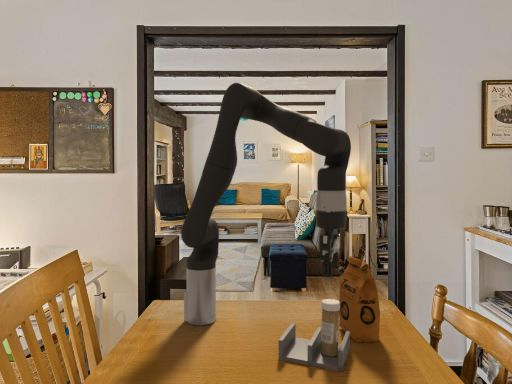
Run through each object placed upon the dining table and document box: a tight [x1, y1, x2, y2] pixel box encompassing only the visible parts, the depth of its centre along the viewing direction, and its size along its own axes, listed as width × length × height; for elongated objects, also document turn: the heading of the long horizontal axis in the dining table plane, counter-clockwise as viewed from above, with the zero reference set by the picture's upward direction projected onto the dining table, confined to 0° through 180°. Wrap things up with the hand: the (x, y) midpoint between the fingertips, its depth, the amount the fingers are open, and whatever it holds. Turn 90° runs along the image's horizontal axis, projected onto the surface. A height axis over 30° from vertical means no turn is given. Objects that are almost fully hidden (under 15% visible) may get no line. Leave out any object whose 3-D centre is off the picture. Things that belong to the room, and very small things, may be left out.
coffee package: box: [338, 256, 381, 343], centre depth 111 cm, size 10×12×22 cm
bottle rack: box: [277, 322, 351, 372], centre depth 99 cm, size 16×12×5 cm
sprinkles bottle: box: [321, 298, 340, 356], centre depth 97 cm, size 5×5×14 cm
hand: (330, 272), depth 96 cm, fingers open, 8 cm apart
